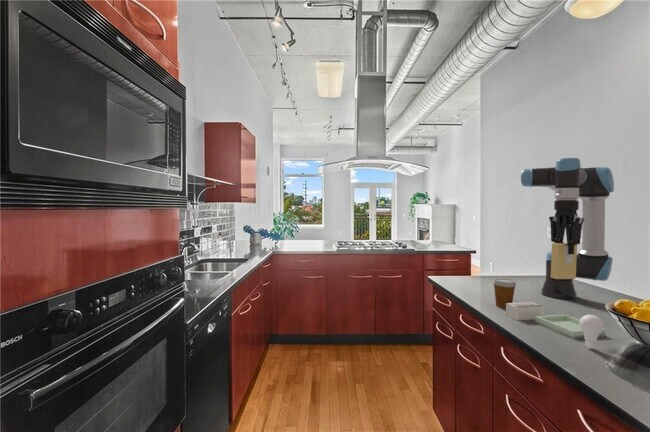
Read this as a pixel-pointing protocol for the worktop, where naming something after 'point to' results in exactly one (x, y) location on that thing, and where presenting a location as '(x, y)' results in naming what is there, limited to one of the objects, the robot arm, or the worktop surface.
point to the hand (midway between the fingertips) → (564, 261)
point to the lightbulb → (591, 329)
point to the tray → (564, 325)
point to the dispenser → (524, 310)
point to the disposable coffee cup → (504, 291)
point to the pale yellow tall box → (562, 262)
